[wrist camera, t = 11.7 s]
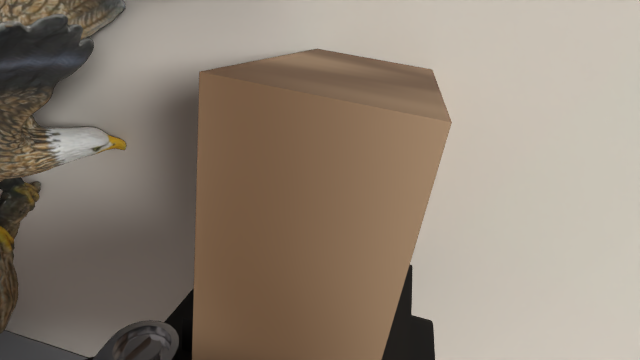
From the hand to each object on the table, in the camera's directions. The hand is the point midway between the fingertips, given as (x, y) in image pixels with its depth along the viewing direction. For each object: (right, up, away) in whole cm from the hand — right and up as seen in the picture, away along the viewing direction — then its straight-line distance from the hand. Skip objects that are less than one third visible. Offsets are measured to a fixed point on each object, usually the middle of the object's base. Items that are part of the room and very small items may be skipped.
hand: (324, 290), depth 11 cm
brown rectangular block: (0, +1, +1) cm, 2 cm away
